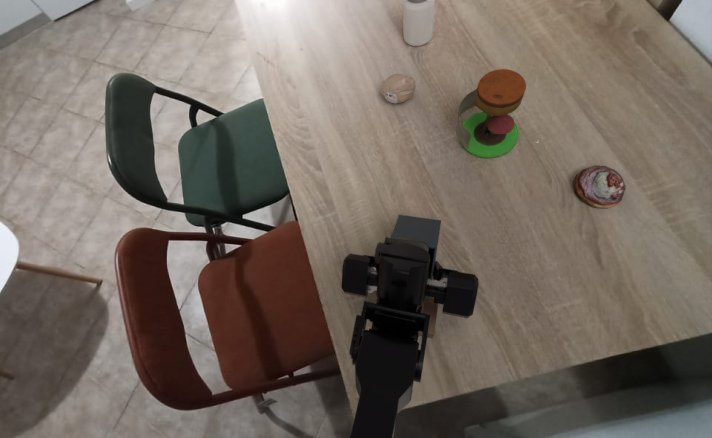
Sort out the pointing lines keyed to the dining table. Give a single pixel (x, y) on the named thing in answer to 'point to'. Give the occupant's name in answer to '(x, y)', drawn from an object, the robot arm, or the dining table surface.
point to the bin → (419, 234)
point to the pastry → (599, 186)
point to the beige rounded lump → (398, 88)
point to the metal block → (432, 310)
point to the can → (418, 21)
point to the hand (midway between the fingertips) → (412, 259)
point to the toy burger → (491, 114)
